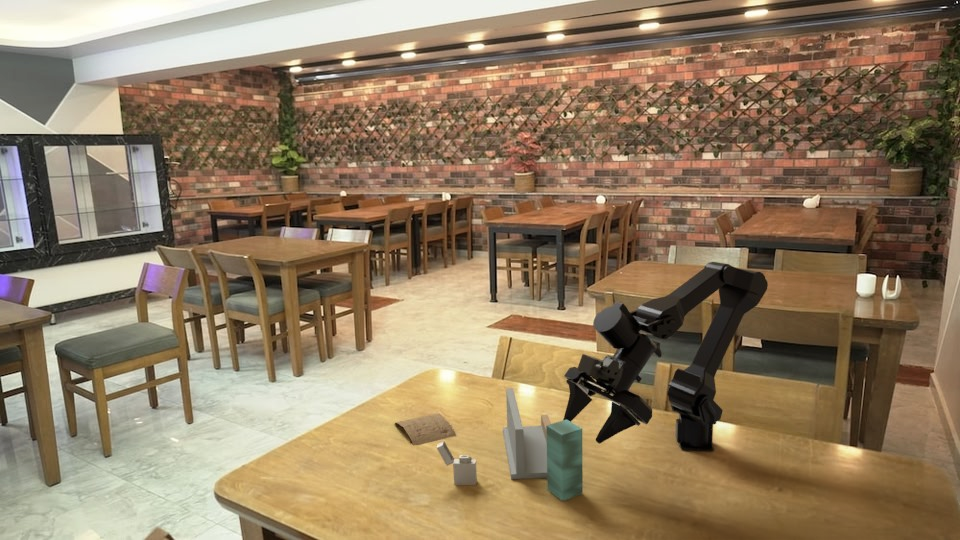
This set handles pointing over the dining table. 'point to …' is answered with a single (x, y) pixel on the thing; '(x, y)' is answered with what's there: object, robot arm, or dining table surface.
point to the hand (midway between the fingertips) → (580, 432)
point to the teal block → (564, 459)
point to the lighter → (459, 466)
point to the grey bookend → (525, 443)
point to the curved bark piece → (427, 429)
